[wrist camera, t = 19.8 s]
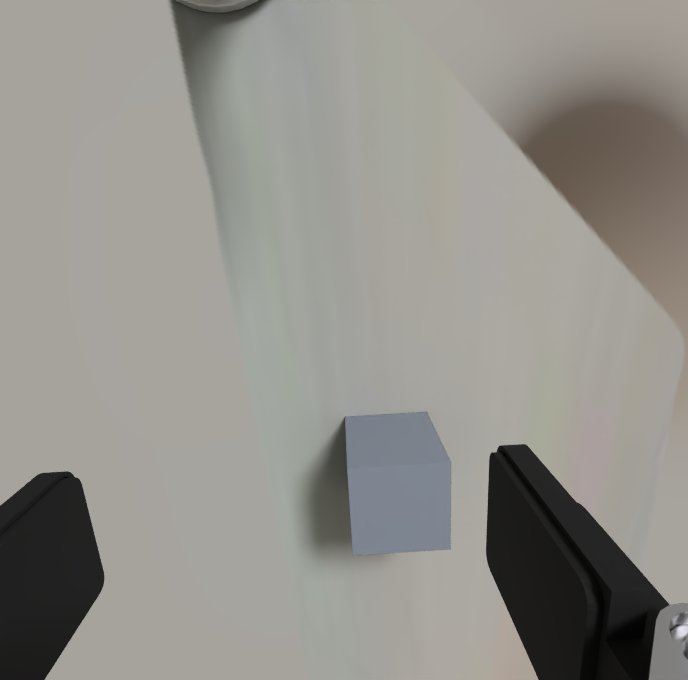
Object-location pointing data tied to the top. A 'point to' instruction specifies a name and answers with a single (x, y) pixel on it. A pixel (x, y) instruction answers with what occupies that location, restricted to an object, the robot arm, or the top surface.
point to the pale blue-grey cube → (397, 484)
